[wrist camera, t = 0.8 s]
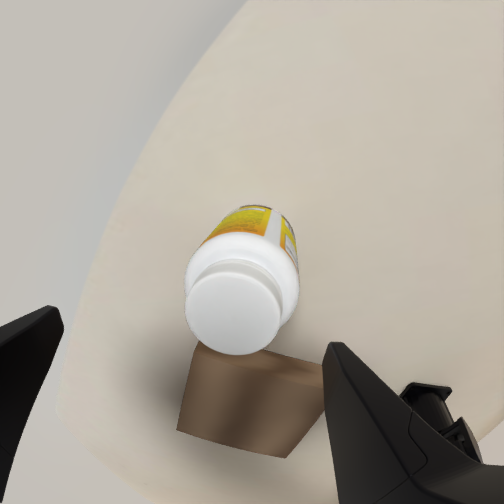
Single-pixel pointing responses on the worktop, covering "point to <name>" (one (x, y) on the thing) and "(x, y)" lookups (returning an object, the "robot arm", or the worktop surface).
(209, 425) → the walnut plinth
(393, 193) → the worktop surface
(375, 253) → the worktop surface
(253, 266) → the supplement bottle
